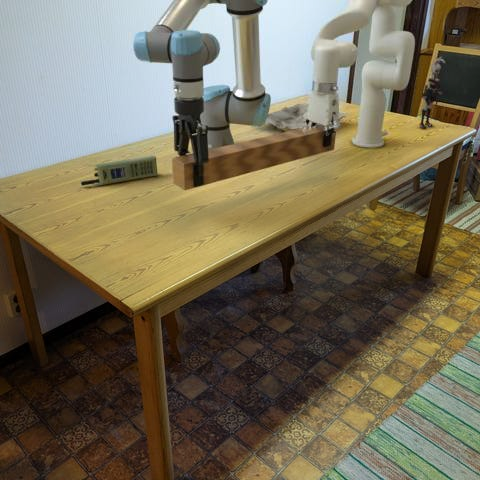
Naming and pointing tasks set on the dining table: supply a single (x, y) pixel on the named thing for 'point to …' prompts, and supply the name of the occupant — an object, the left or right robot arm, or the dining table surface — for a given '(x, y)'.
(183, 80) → the left robot arm
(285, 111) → the grey rock slab
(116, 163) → the handheld radio
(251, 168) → the post
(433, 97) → the figurine
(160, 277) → the dining table surface
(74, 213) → the dining table surface
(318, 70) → the right robot arm
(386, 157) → the dining table surface
